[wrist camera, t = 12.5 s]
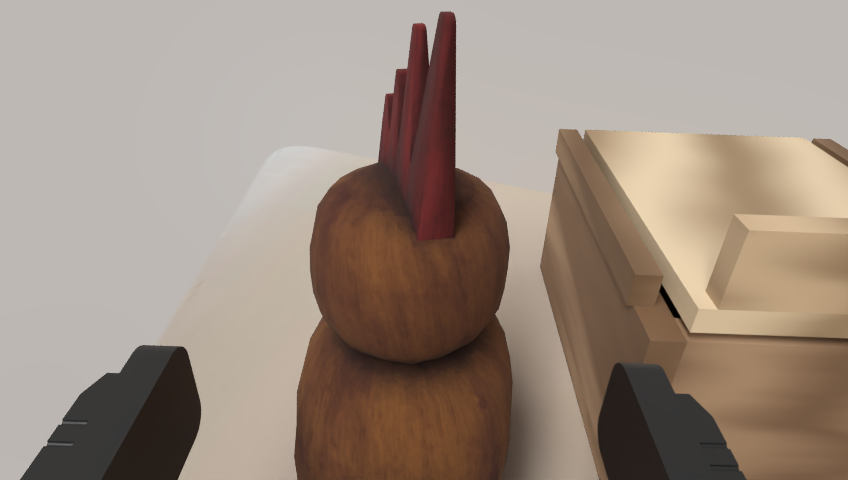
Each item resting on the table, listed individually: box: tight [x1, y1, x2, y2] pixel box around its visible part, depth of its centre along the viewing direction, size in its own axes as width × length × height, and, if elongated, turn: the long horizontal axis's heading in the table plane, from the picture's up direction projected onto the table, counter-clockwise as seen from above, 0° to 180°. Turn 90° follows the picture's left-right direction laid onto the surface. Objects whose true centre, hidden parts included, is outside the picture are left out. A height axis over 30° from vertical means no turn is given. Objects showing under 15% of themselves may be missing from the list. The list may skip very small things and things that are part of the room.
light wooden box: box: [540, 129, 848, 480], centre depth 22 cm, size 12×13×8 cm
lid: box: [583, 130, 848, 338], centre depth 20 cm, size 10×13×3 cm
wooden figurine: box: [294, 12, 512, 480], centre depth 14 cm, size 7×6×15 cm
